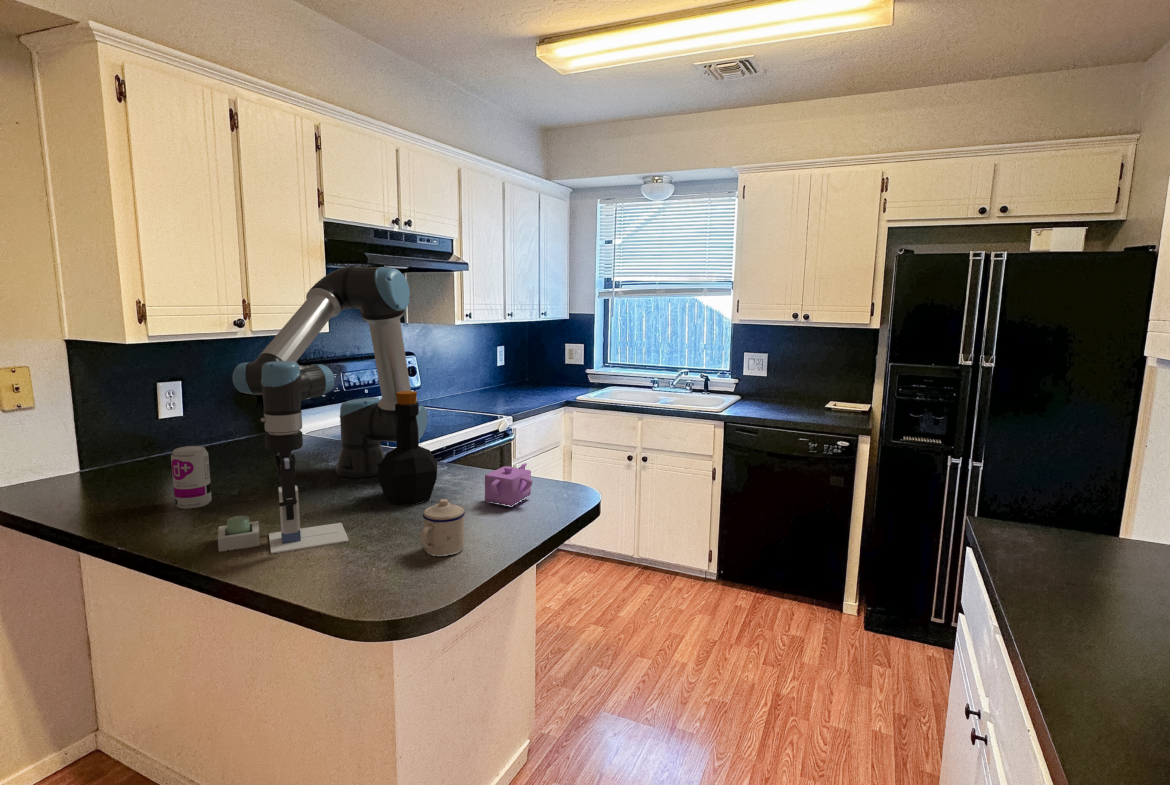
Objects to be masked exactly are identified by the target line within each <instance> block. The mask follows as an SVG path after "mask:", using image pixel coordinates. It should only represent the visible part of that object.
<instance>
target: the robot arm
mask: <svg viewBox="0 0 1170 785" xmlns="http://www.w3.org/2000/svg"><path fill="white" fill-rule="evenodd" d="M410 298H411V291H410V286H409V283H408V280H407V278H406V277H405V275H404V274H403V273H402V272H401V271H400V270H399V269H396V268H394V267H393V268H392V267H384V266H345V267H344V266H343V267H340V268H338V269H335V270H333V271H331V272H329V273H327V274H326V275H325V276H323V277H322V278H320V279H319V280H318V281H317V282H315V283H314V285H313V286H312V287H311V288H310V289H309V290H308V292H307V293H306V295H305V299H306V300H305V301H304V302H303V304H301V306H300V307H299V308H298V309H297V310H296V312H295V313H294V314H293V315H292V316H291V317H290V318H289V320H288V321H287V322H286V324H285V325H284V326H283V327H282V328H281V329H280V331H279V332H278V333H277V334H276V335H275V336H274V337H273V339H272V340H271V341H269V343H268V344H267V346H266V347H265V348H264V349H263V350H262V351H261V353H260V354H259V356H258V357H256V359H255V360H254V361H253V362H251V361H247V362H241V363H239V364H237V365H236V367H235V368H234V370H233V373H232V383H233V386H234V387H235V389H236V390H237V391H238V392H240V393H243V394H248V395H253V396H258V395H259V396H262V400H263V403H262V404H263V417H261V418H260V422H261V423H264V431H265V432H266V433H265V434H264V443H265V446H264V447H265V449H266V451H267V452H272V453H275V452H277V453H276V454H277V455H275V456H274V464H275V467H276V470H277V480H278V485H279V486H278V487H282V497H283V502H281V503H278V504H279V505H278V506H279V508H280V507H281V506H282V511H283V529H284V534H289V533H296V532H298V530H297V511H296V503H297V500H296V492H295V486H296V484H295V483H296V482H295V475H296V456H295V454H292V451H298V450H300V449H301V448H302V447H303V446H304V440H303V439H304V437H303V431H301V430H302V429H303V417H302V416H303V414H302V401H304V400H309V399H313V398H316V397H317V398H318V397H321V396H323V395H326V394H328V393H329V392H331V391H332V389H333V388H334V385H335V376H334V373H333V370H331V369H330V368H329V367H328V366H327V365H324V364H321V363H320V364H319V363H318V364H317V363H313V364H310V365H299V363H298V361H299V359H300V357H302V355H304V353H305V352H306V350H307V349H308V348H309V346H310V345H311V344H312V342H313V341H314V340H315V339H316V337H317V336H319V334H320V333H321V331H322V330H323V328H324V327H326V324H327V323H328V322H329V321H330V319H331V318H335V317H337V316H338V315H340V313H341V312H342V311H343V310H348V309H354V310H355V309H358V310H360V313H361V317H362V319H363V320H364V321H366V322H367V323H368V326H369V332H370V338H371V342H372V348H373V354H374V355H373V356H374V361H375V365H376V372H377V377H378V382H379V383H378V384H379V389H380V393H381V394H380V395H381V398H379V397H377V396H376V397H363V398H355V399H350V400H347V401H345V402H343V403H341V405H340V406H339V407H340V411H339V412H340V413H339V419H340V420H339V421H340V438H341V439H340V442H341V443H340V444H341V450H340V452H339V455H338V456H339V457H338V459H337V463H336V466H335V467H336V470H335V471H336V474H337V475H338V476H339V477H342V478H349V479H352V478H353V479H361V478H370V477H371V478H372V477H376V476H378V468H379V466H380V464H381V462H382V461H383V459H384V457H385V455H384V451H383V448H382V444H381V443H382V442H390V443H392V442H393V443H397V440H396V429H397V422H398V416H397V415H395V404H396V403H397V396H396V392H400V391H412V388H411V382H410V376H409V371H408V369H409V368H408V365H407V364H408V363H407V356H406V351H405V343H404V338H403V332H402V325H401V318H402V317H403V316H404V315H405V310H406V309H407V307H408V306H409V304H410ZM416 403H419V400H418V397H416ZM428 417H429V416H428V409H427V408H426V407H425V406H423V405H421V404H419V414H418V415H417V416H416V418H417V424H418V433H419V441H420V440H421V438H422V437H423V435H424V434H425V432H426V428H427V426H428ZM289 498H293V499H289ZM286 499H288V500H286Z"/></svg>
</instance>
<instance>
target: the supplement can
mask: <svg viewBox="0 0 1170 785" xmlns="http://www.w3.org/2000/svg"><path fill="white" fill-rule="evenodd" d="M170 461H171V462H170V464H171V472H172V473H171V474H172V487H173V496H174V505H175V507H177V508H179V509H182V510H190V509H198V508H202V507H205V506H207V505H209V504H210V502H212V500H213V499H212V486H211V474H210V470H211V469H210V459H209V452H208V451H207V450H206V447H205V446H202V445H186V446H182V447H177V448H175V449H173V451H172V453H171V455H170Z"/></svg>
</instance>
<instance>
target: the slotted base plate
mask: <svg viewBox="0 0 1170 785" xmlns="http://www.w3.org/2000/svg"><path fill="white" fill-rule="evenodd" d="M300 534H301V541H296V542H290V543H284V544H282V538H281V530H280V531H276V532H269V533H268V538H269V547H270V554H271V555H275V554H274V553H276V554H281V552H282V553H288V552H294V551H299V550H305V549H313V548H319V547H320V548H321V547H325V546H331V545H336V544H337V545H338V544H343V543H344V542H345V543H349V542H350V540H349V539H350V538H349V537H348V535H347V533H346V529H345V528H344V526H343V523H342V522H336V523H331V524H322V525H317V526H309V527H302V528H301V527H300Z"/></svg>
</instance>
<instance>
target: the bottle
mask: <svg viewBox="0 0 1170 785" xmlns="http://www.w3.org/2000/svg"><path fill="white" fill-rule="evenodd" d="M417 395H418V391H415V390H414V391H413V390H411V391H400V392H396V396H397V403H396V404H395V415H397V416H398V422H397V429H396V440H397V442H396V447H395V448H393V449H392V450H390V451H387V453H386V454H385V455H384V459H383V461H382V462H381V464H380V466H379V468H378V475H377V477H378V478H377V480H378V483H379V486H380V487H381V491H382V493H383V496H384V498H385V501H386V502H387V501H388V502H387V503H390V504H392V505H395V506H398V505H399V506H401V505H402V506H403V505H404V504H415V505H417V504H416V503H418V504H420V503H419V502H421V503H423V502H422V501H424V502H426V501H425V500H427V501H429V500H428V499H431V496H432V494H433V491H434V488H435V485H436V481H437V477H438V461H437V460H436V457H435V456H434V455H433V453H432V451H431V450H430V449H428V448H425V447H423V446H419V444H420V440H419V433H418V424H417V418H416V416H417V415H418V414H419V406H420V404H419V402H418V403H416V397H417ZM417 398H418V397H417ZM404 506H405V505H404Z"/></svg>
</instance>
